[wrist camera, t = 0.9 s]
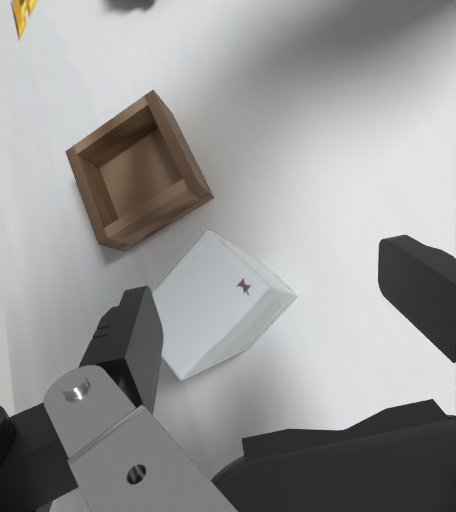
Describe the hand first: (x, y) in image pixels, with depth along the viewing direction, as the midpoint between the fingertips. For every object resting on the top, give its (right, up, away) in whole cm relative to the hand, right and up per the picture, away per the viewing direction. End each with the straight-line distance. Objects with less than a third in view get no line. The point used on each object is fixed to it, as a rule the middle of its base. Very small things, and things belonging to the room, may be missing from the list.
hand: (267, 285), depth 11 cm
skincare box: (+1, -3, +15) cm, 15 cm away
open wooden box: (-9, +8, +20) cm, 23 cm away
